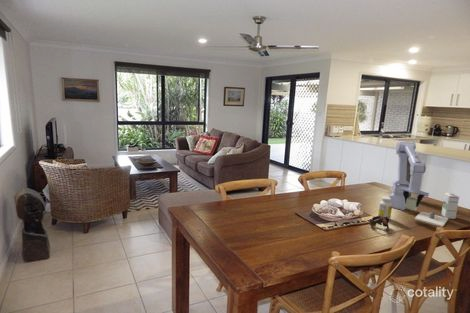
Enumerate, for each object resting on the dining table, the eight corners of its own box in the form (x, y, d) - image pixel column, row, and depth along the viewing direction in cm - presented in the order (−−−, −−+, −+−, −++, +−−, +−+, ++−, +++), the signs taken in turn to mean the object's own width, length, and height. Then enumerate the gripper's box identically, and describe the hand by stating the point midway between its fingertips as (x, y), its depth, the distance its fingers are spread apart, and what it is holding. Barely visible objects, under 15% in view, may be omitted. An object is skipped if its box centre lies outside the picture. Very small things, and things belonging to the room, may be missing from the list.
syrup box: (455, 219, 174) (460, 196, 171) (444, 218, 175) (449, 195, 172) (450, 215, 180) (455, 193, 177) (440, 214, 181) (444, 192, 178)
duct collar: (405, 208, 170) (406, 198, 169) (407, 206, 173) (409, 196, 172) (414, 210, 166) (416, 200, 165) (417, 208, 170) (418, 198, 169)
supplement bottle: (389, 217, 173) (392, 197, 171) (391, 221, 167) (394, 200, 165) (377, 215, 175) (379, 195, 173) (378, 219, 169) (381, 198, 167)
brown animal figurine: (385, 235, 149) (378, 221, 150) (370, 236, 158) (363, 222, 158) (397, 225, 156) (390, 211, 156) (381, 226, 164) (375, 213, 164)
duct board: (414, 219, 171) (415, 212, 170) (421, 212, 182) (422, 206, 181) (442, 227, 161) (444, 219, 161) (448, 219, 173) (449, 212, 172)
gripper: (399, 181, 169) (396, 203, 172) (428, 187, 159) (424, 210, 162) (403, 179, 174) (399, 200, 177) (431, 185, 164) (427, 207, 167)
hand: (411, 205), depth 170 cm, fingers closed on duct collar, 5 cm apart
